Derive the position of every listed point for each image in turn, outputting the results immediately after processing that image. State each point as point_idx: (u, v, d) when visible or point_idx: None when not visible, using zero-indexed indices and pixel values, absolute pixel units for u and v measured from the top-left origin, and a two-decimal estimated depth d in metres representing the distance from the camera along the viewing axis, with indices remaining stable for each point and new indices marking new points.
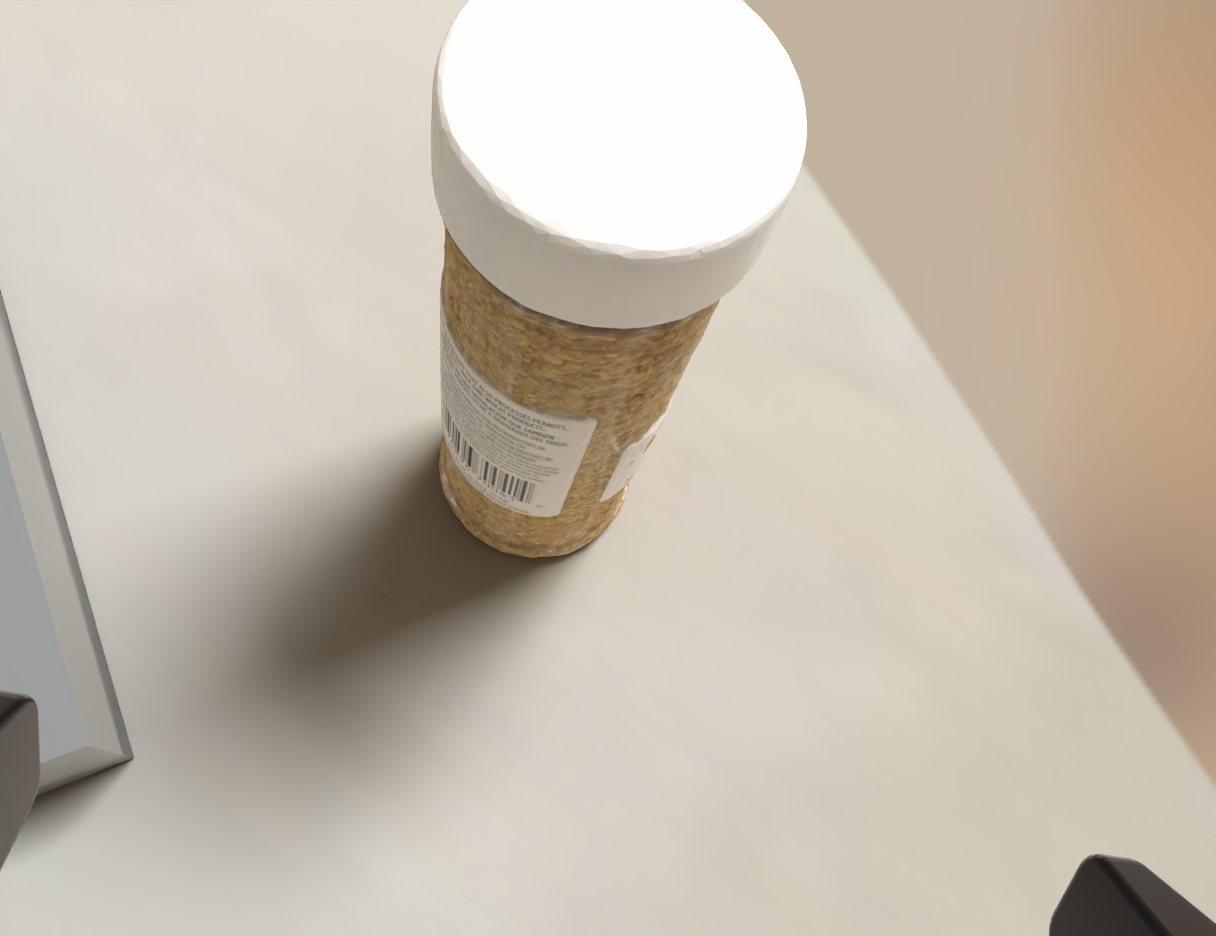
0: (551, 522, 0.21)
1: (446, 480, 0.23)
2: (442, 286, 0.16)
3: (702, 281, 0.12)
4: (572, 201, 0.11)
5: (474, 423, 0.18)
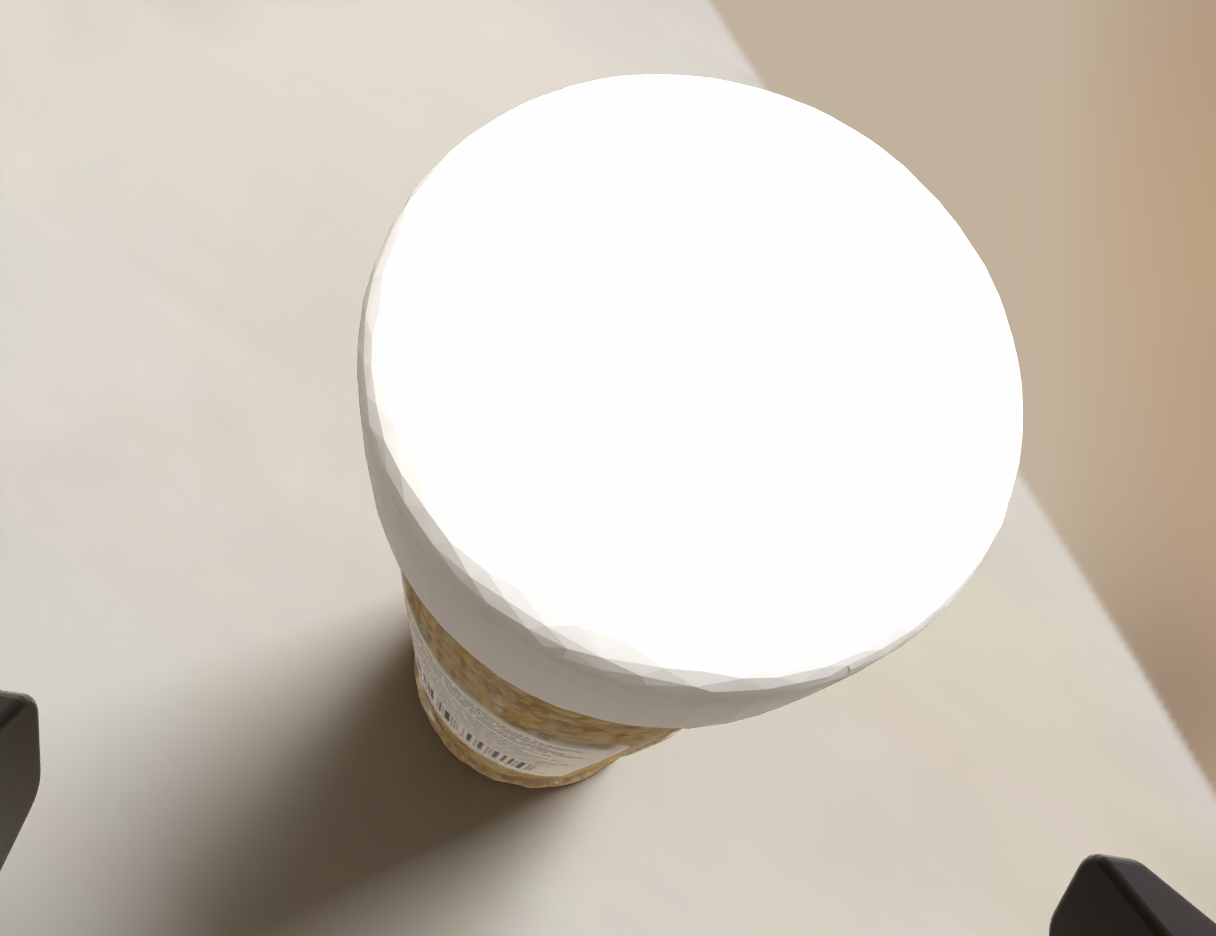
0: None
1: (422, 686, 0.18)
2: None
3: (836, 681, 0.07)
4: (609, 585, 0.06)
5: (450, 702, 0.12)
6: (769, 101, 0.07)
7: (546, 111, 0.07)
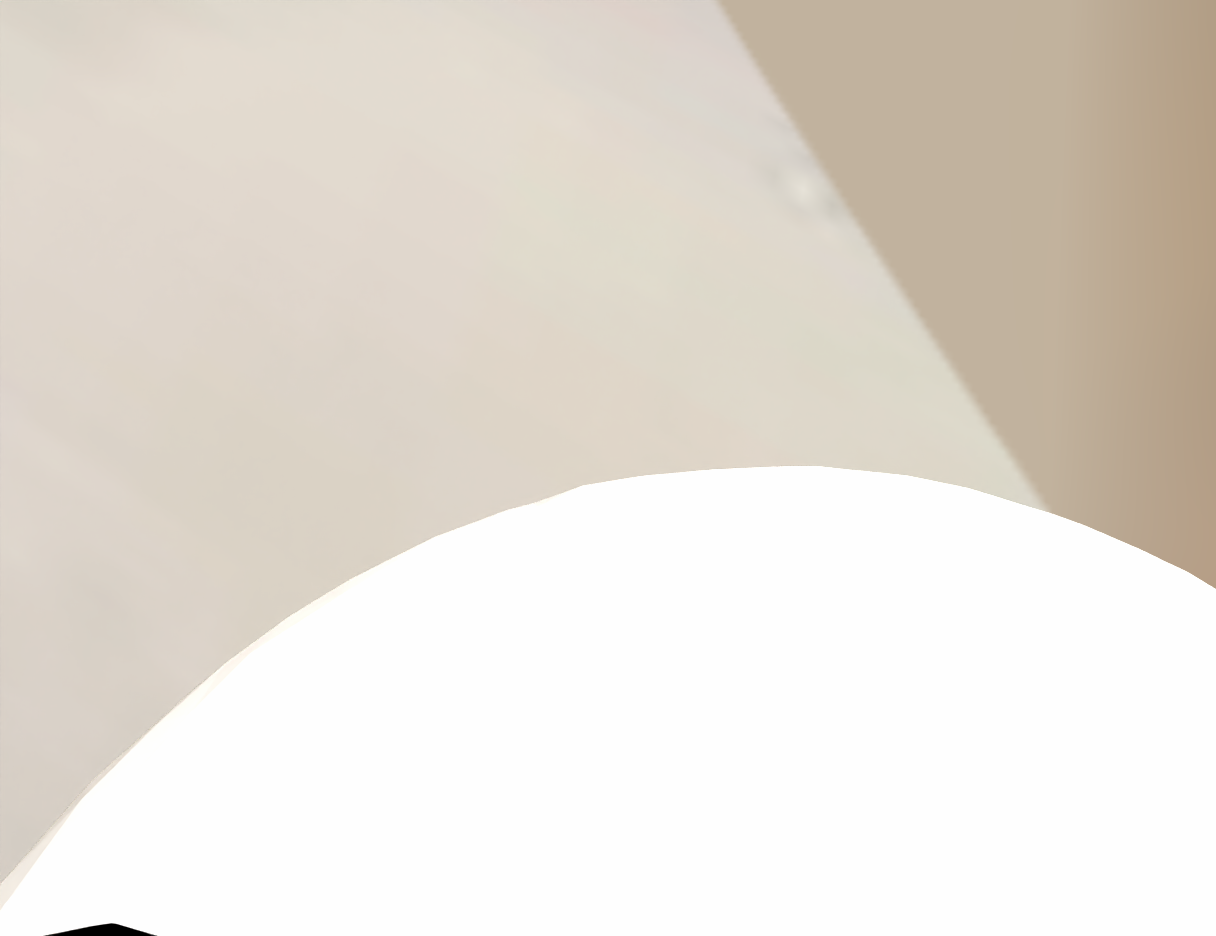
0: None
1: None
2: None
3: None
4: None
5: None
6: (1040, 563, 0.03)
7: (387, 660, 0.02)
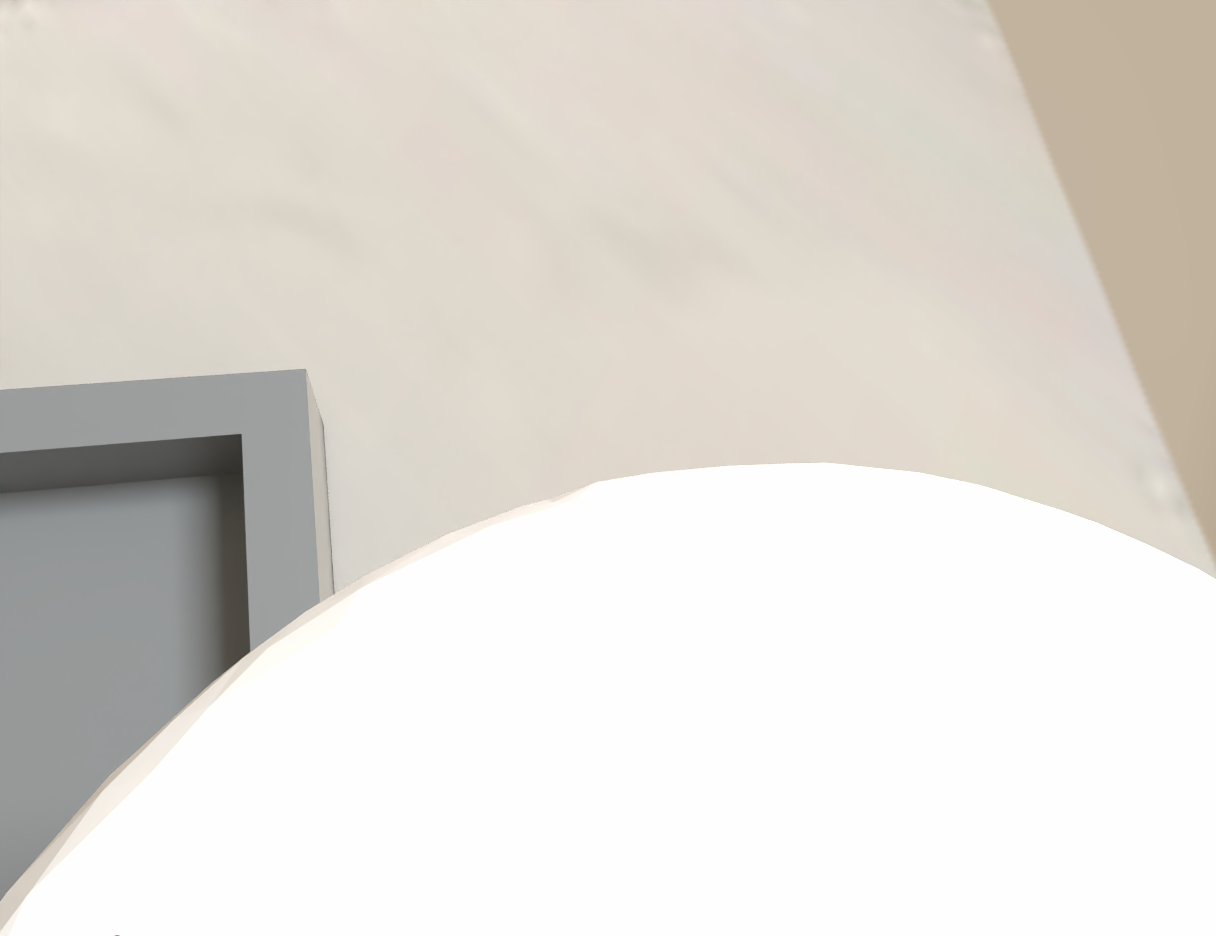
0: None
1: None
2: None
3: None
4: None
5: None
6: (1053, 561, 0.03)
7: (405, 656, 0.02)
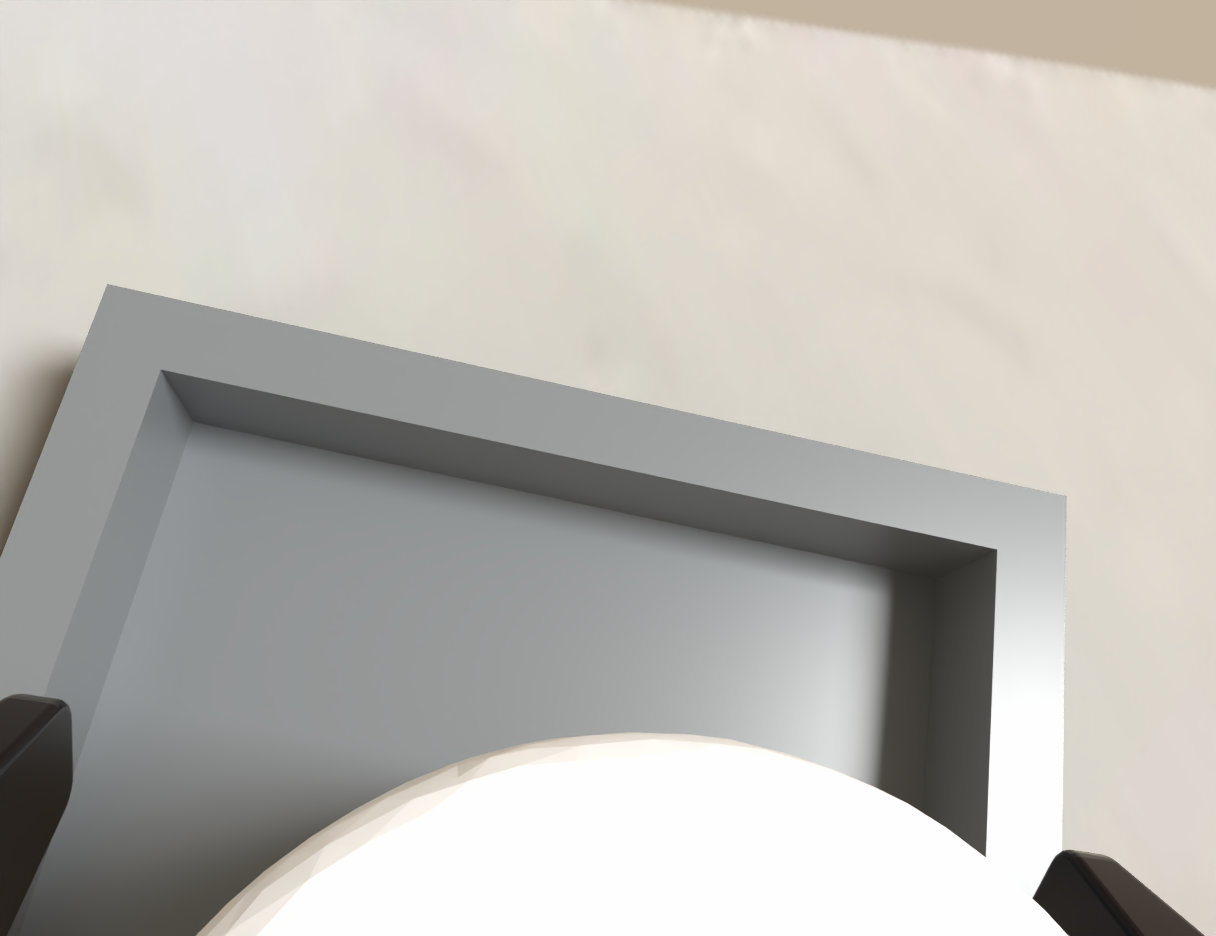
0: None
1: None
2: None
3: None
4: None
5: None
6: (797, 821, 0.04)
7: (351, 902, 0.04)
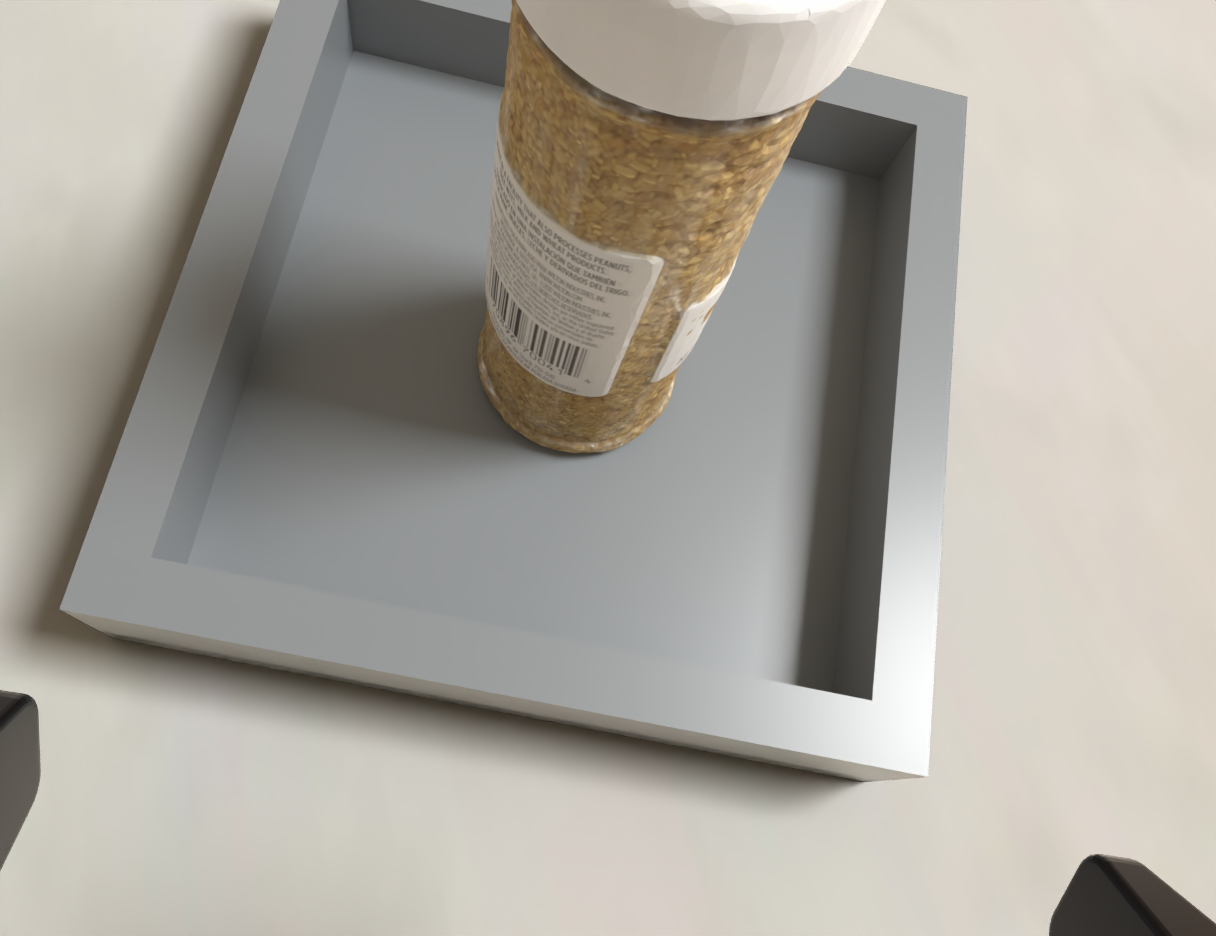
0: (598, 405, 0.20)
1: (484, 369, 0.22)
2: (500, 114, 0.15)
3: (804, 55, 0.11)
4: None
5: (526, 275, 0.16)
6: None
7: None
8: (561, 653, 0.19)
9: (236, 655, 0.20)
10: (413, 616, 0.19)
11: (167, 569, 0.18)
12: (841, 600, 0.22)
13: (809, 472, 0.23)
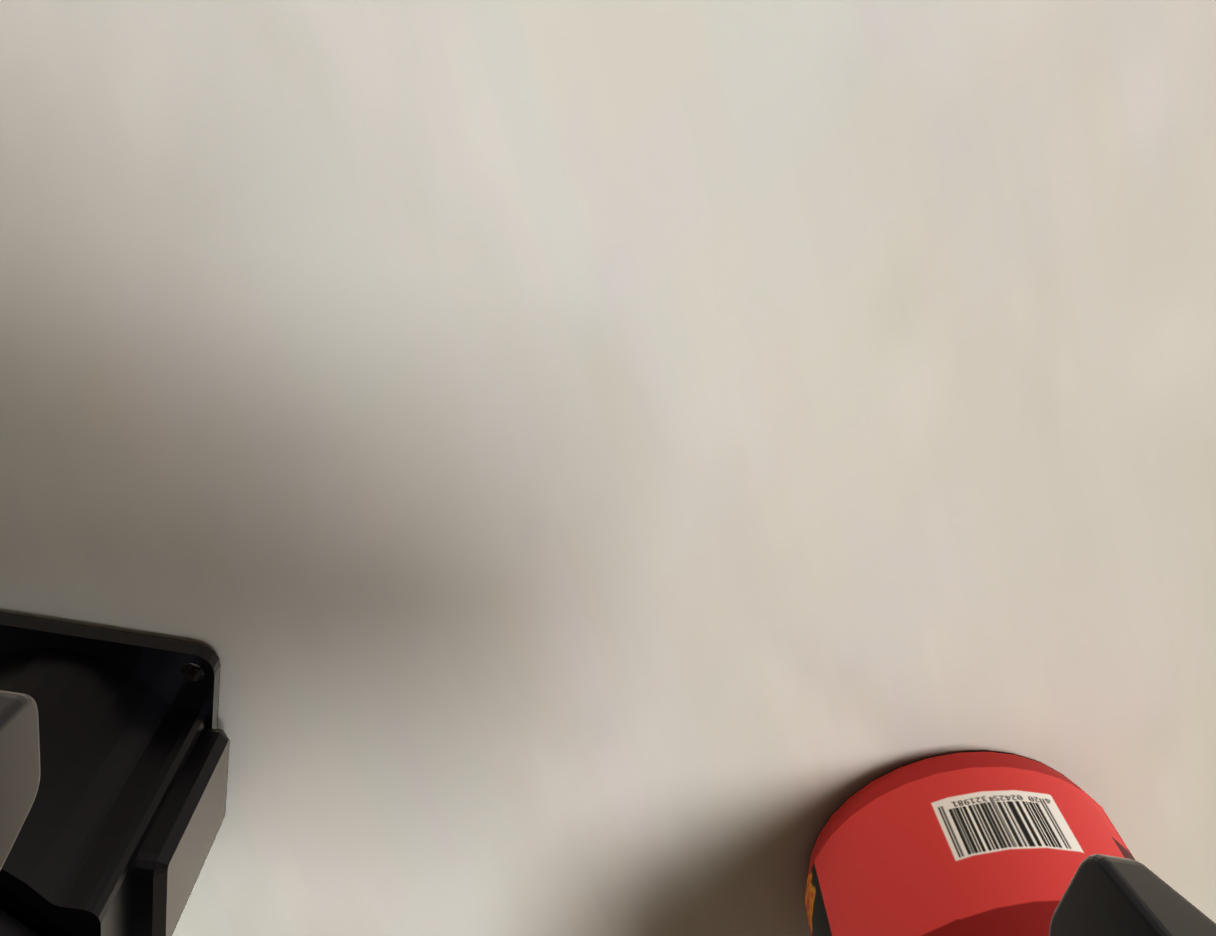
0: None
1: None
2: None
3: None
4: None
5: None
6: None
7: None
8: None
9: None
10: None
11: None
12: None
13: None
